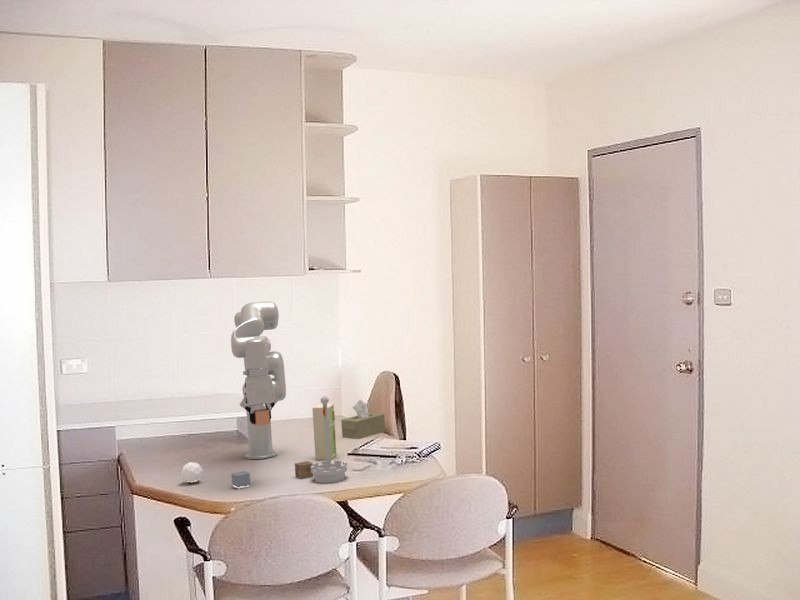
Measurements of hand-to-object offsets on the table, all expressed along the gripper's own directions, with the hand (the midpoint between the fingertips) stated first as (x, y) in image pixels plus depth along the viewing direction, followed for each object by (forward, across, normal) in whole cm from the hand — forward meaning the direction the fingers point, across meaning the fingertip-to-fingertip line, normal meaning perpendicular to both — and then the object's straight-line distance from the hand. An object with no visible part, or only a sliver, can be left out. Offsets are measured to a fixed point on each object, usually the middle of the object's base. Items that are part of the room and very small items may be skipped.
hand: (260, 421), depth 328 cm
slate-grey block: (+22, -10, -4) cm, 24 cm away
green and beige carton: (+22, +33, +16) cm, 43 cm away
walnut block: (+22, +13, -6) cm, 26 cm away
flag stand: (+22, +19, -16) cm, 33 cm away
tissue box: (+23, +66, +48) cm, 84 cm away
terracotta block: (+1, 0, 0) cm, 1 cm away
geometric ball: (+22, -22, +16) cm, 35 cm away
